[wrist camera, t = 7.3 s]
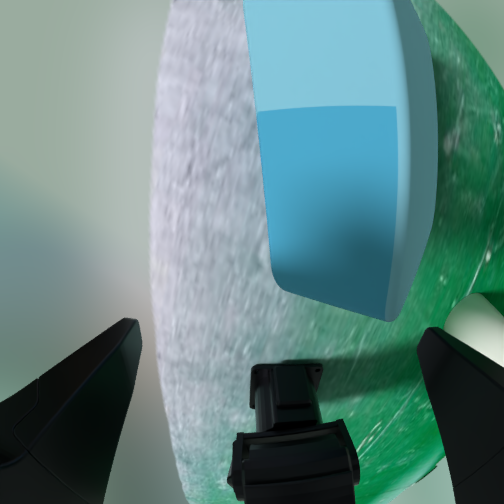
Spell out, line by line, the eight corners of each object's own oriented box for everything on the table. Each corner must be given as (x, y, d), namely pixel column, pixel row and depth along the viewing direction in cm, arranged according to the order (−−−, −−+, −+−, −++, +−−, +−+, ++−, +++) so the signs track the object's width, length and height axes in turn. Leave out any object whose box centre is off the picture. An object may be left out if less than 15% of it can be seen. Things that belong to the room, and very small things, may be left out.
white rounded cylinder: (471, 335, 25) (514, 394, 16) (435, 342, 25) (479, 412, 16) (492, 291, 23) (546, 348, 14) (456, 294, 22) (515, 363, 13)
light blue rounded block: (361, 39, 14) (234, -29, 6) (428, 38, 11) (370, -67, 3) (371, 212, 19) (271, 305, 11) (433, 223, 16) (386, 344, 8)
